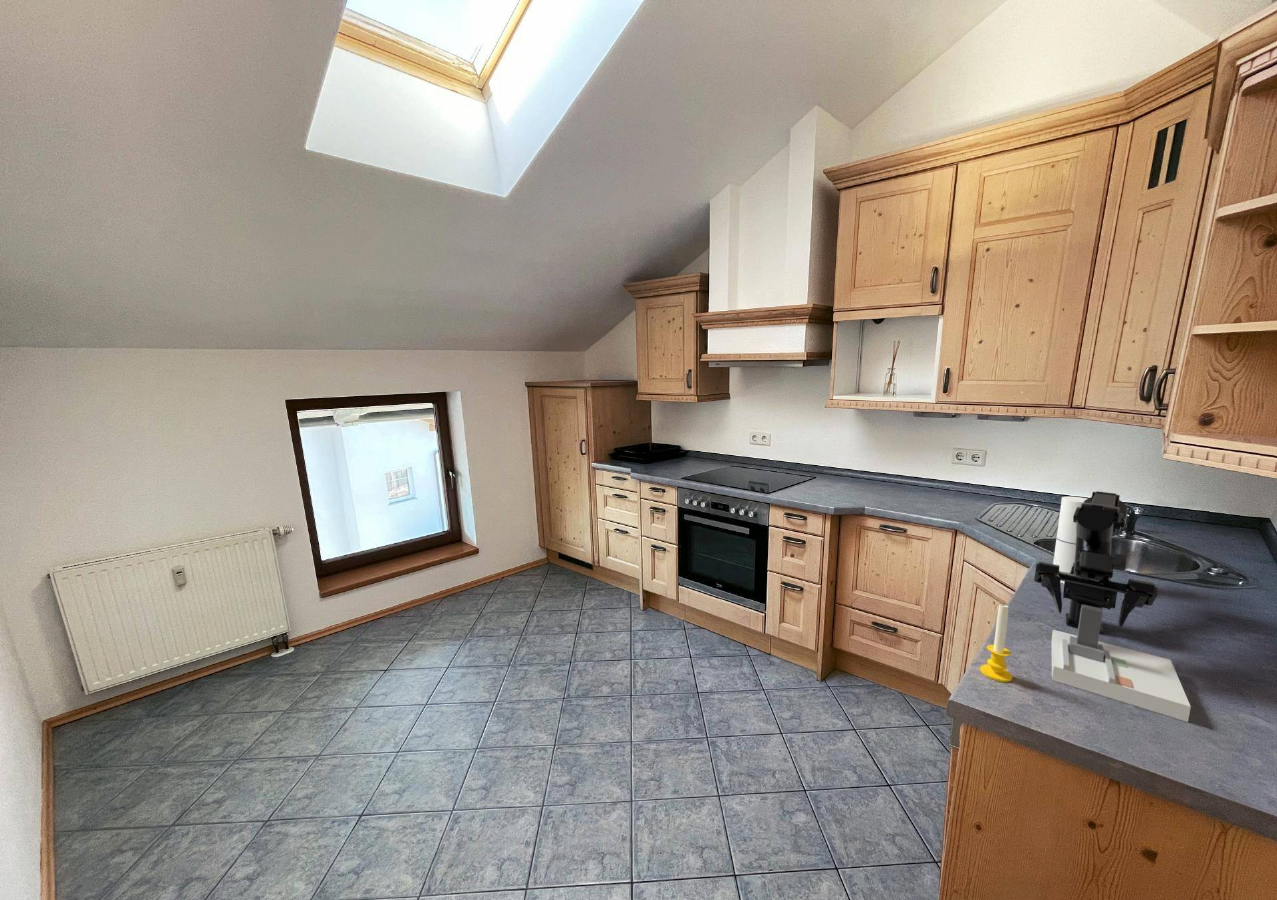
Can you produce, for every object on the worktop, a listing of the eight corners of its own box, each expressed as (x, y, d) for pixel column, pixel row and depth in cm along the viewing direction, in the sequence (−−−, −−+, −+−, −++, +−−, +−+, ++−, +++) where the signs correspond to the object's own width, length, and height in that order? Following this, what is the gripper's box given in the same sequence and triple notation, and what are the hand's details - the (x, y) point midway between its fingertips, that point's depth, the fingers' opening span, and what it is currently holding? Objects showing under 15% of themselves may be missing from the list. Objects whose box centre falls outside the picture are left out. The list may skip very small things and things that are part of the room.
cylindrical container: (1049, 574, 143) (1060, 495, 140) (1081, 579, 139) (1092, 498, 136) (1052, 582, 138) (1063, 500, 134) (1085, 588, 134) (1098, 504, 130)
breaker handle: (1068, 644, 101) (1074, 601, 99) (1101, 653, 97) (1108, 608, 96) (1069, 652, 98) (1075, 608, 96) (1102, 662, 94) (1109, 615, 93)
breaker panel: (1051, 641, 107) (1053, 625, 107) (1168, 673, 96) (1171, 655, 95) (1051, 679, 94) (1054, 661, 93) (1187, 722, 82) (1191, 701, 81)
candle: (977, 664, 99) (984, 595, 97) (1007, 669, 97) (1015, 599, 95) (984, 678, 94) (992, 606, 92) (1016, 684, 92) (1025, 611, 90)
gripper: (1040, 527, 105) (1034, 590, 99) (1163, 546, 93) (1165, 619, 87) (1037, 550, 112) (1030, 611, 106) (1150, 570, 100) (1151, 640, 94)
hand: (1089, 619), depth 98 cm, fingers open, 9 cm apart
